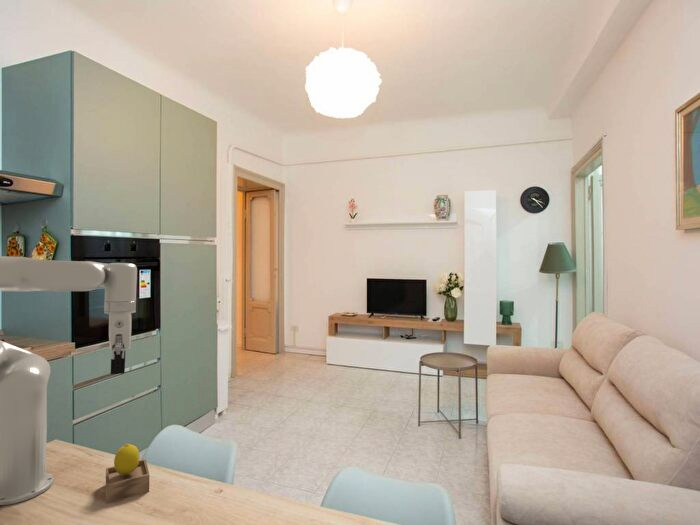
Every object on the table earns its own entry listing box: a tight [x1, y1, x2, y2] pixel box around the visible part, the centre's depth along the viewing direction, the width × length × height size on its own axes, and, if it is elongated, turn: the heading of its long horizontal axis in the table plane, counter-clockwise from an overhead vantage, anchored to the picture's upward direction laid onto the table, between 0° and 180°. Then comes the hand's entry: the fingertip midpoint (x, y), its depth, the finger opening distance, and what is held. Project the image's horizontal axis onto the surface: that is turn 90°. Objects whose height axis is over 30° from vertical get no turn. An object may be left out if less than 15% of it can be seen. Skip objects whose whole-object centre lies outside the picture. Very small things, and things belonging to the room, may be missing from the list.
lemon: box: [113, 443, 140, 476], centre depth 98 cm, size 6×6×8 cm
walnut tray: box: [105, 458, 150, 504], centre depth 97 cm, size 9×9×4 cm
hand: (118, 369), depth 107 cm, fingers open, 9 cm apart
